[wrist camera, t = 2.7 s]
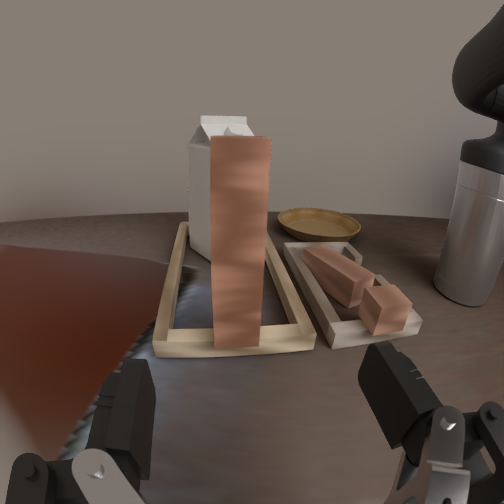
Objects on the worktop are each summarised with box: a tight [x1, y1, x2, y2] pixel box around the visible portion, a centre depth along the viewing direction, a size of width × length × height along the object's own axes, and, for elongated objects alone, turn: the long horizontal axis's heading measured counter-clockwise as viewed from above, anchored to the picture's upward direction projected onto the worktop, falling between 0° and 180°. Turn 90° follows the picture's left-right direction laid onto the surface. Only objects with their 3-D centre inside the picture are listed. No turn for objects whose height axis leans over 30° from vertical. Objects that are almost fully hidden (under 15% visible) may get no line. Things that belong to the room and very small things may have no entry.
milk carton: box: [188, 116, 254, 261], centre depth 39 cm, size 7×7×19 cm
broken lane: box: [283, 242, 423, 349], centre depth 33 cm, size 10×21×5 cm, turn 8°
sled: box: [152, 135, 317, 358], centre depth 32 cm, size 13×30×17 cm, turn 8°
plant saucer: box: [278, 208, 361, 242], centre depth 51 cm, size 15×15×3 cm
